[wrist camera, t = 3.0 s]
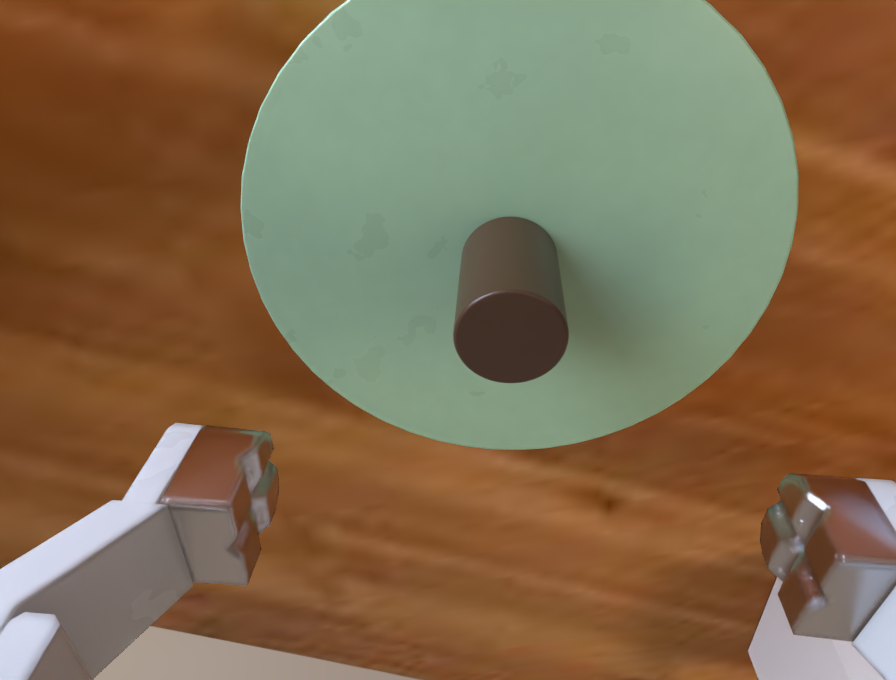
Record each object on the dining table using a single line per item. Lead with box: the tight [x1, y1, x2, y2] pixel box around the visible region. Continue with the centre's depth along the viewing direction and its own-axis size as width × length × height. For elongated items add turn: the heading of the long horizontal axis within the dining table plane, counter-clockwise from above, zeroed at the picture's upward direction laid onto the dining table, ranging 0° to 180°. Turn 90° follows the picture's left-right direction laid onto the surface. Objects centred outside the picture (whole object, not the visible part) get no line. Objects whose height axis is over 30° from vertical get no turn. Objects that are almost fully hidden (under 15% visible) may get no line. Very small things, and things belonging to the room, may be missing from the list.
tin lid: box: [241, 0, 799, 450], centre depth 15 cm, size 14×14×5 cm
